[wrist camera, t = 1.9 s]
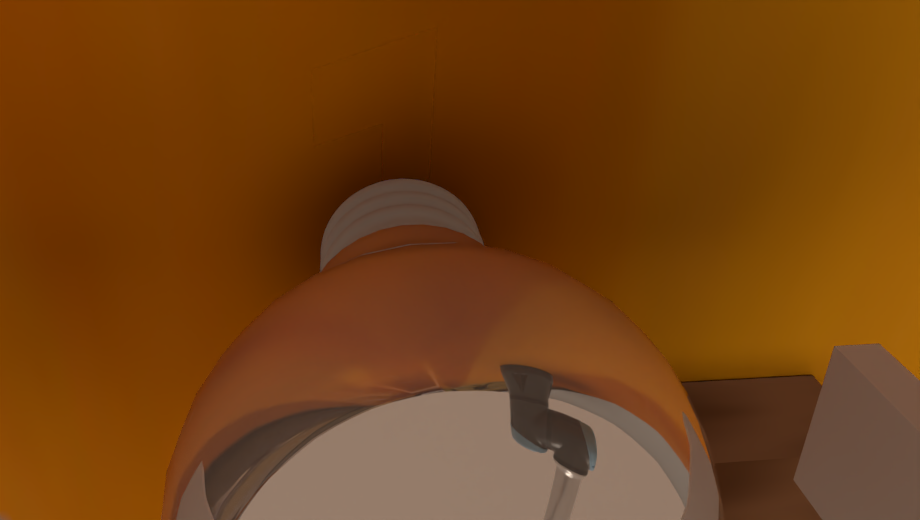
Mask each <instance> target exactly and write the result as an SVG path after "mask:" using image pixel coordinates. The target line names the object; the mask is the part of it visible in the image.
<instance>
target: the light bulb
mask: <svg viewBox="0 0 920 520" xmlns="http://www.w3.org/2000/svg"><path fill="white" fill-rule="evenodd" d="M161 520H725V516H724V510H723V504H722V498H721V493H720V487H719V481H718V475H717V470H716V466H715V463H714V460H713V456H712V453H711V449H710V446H709V442H708V439H707V435H706V433H705V430H704V428H703V426H702V424H701V421H700V419H699V417H698V415H697V413H696V410H695V408H694V406H693V404H692V401H691V399H690V397H689V395H688V393H687V391H686V390H685V388H684V387H683V385H682V383H681V382H680V380H679V379H678V377H677V375H676V374H675V372H674V371H673V369H672V367H671V366H670V364H669V363H668V361H667V359H666V358H665V357H664V356H663V355H662V353H661V352H660V351H659V350H658V349H657V347H656V346H655V345H654V344H653V343H652V341H651V340H650V339H649V338H648V337H647V335H646V334H645V333H644V332H643V331H642V330H641V329H640V328H639V327H638V326H637V325H636V324H635V323H634V322H633V321H632V320H631V319H630V318H629V317H628V316H627V315H626V314H625V313H624V312H622V311H621V310H620V309H619V308H618V307H617V306H616V305H615V304H614V303H613V302H612V301H611V300H609V299H607V298H606V297H604V296H602V295H601V294H599V293H598V292H596V291H594V290H593V289H591V288H590V287H588V286H586V285H585V284H583V283H581V282H580V281H578V280H576V279H575V278H573V277H571V276H569V275H568V274H566V273H564V272H563V271H561V270H559V269H558V268H556V267H554V266H553V265H551V264H548V263H546V262H543V261H540V260H537V259H534V258H531V257H528V256H525V255H522V254H519V253H516V252H513V251H510V250H507V249H500V248H493V247H486V246H484V243H483V240H482V238H481V236H480V234H479V230H478V227H477V224H476V222H475V220H474V218H473V216H472V215H471V213H470V211H469V210H468V209H467V207H466V206H465V205H464V204H463V203H462V202H461V201H460V200H459V199H458V198H457V197H456V196H454V195H453V194H452V193H450V192H449V191H447V190H445V189H443V188H442V187H440V186H437V185H435V184H432V183H429V182H426V181H421V180H415V179H392V180H386V181H382V182H378V183H375V184H372V185H369V186H367V187H365V188H363V189H361V190H359V191H358V192H356V193H355V194H353V195H352V196H350V197H349V198H348V199H347V200H346V201H344V202H343V203H342V204H341V206H340V207H339V208H338V209H337V210H336V211H335V213H334V214H333V215H332V217H331V219H330V220H329V222H328V224H327V227H326V229H325V232H324V235H323V239H322V243H321V263H320V272H319V273H316V274H314V275H313V276H311V277H310V278H308V279H307V280H305V281H303V282H302V283H300V284H299V285H297V286H296V287H294V288H293V289H291V290H289V291H288V292H286V293H285V294H283V295H282V296H280V297H279V298H277V299H275V300H274V301H273V302H272V303H271V304H270V305H269V306H268V307H267V308H266V309H265V310H264V311H263V312H262V313H261V314H260V315H258V316H257V317H256V318H255V319H254V320H253V321H252V322H251V323H250V324H249V325H248V326H247V327H246V328H245V329H244V330H243V331H242V332H241V333H240V334H239V335H238V337H237V338H236V339H235V340H234V341H233V342H232V344H231V345H230V346H229V347H228V348H227V349H226V351H225V352H224V353H223V354H222V356H221V357H220V359H219V360H218V362H217V363H216V365H215V366H214V368H213V369H212V371H211V372H210V374H209V375H208V377H207V378H206V380H205V381H204V383H203V384H202V386H201V387H200V389H199V390H198V392H197V393H196V396H195V398H194V400H193V403H192V405H191V408H190V410H189V413H188V415H187V418H186V420H185V423H184V425H183V427H182V430H181V433H180V436H179V438H178V441H177V444H176V447H175V449H174V452H173V455H172V458H171V460H170V463H169V466H168V469H167V472H166V481H165V490H164V499H163V508H162V517H161Z"/></svg>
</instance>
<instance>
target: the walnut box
mask: <svg viewBox="0 0 920 520" xmlns="http://www.w3.org/2000/svg"><path fill="white" fill-rule="evenodd" d="M682 385H683V387H684V388H685V390H686V391H687V393H688V395H689V397H690V399H691V401H692V404H693V406H694V408H695V410H696V413H697V415H698V417H699V419H700V421H701V424H702V426H703V428H704V430H705V433H706V435H707V439H708V442H709V446H710V449H711V453H712V456H713V460H714V463H715V466H716V470H717V475H718V481H719V487H720V493H721V498H722V504H723V510H724V516H725V520H822V519H821V517H820V516H819V515H818V513H817V512H816V510H815V509H814V508H813V506H812V505H811V504H810V502H809V501H808V499H807V498H806V497H805V495H804V494H803V492H802V491H801V490H800V488H799V487H798V486H797V484H796V483H795V481H794V480H793V479H794V476H795V473H796V469H797V466H798V463H799V460H800V456H801V453H802V450H803V447H804V443H805V440H806V437H807V434H808V430H809V427H810V424H811V421H812V417H813V414H814V411H815V408H816V404H817V401H818V398H819V395H820V391H821V388H822V386H821V384H820V383H819V382H818V381H817V380H816V379H815V378H814V376H813V375H809V376H792V377H774V378H756V379H738V380H721V381H703V382H685V383H682Z"/></svg>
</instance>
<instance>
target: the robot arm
mask: <svg viewBox="0 0 920 520" xmlns="http://www.w3.org/2000/svg"><path fill="white" fill-rule="evenodd" d="M793 480H794V481H795V483H796V484H797V486H798V487H799V488H800V490H801V491H802V492H803V494H804V495H805V497H806V498H807V499H808V501H809V502H810V504H811V505H812V506H813V508H814V509H815V510H816V512H817V513H818V515H819V516H820V517H821V519H822V520H920V381H919V380H918V379H917V378H916V377H915V376H914V375H913V374H912V373H911V372H909V371H908V370H907V369H906V368H905V367H904V366H903V365H902V364H901V363H900V362H899V361H898V360H896V359H895V358H894V357H893V356H892V355H891V354H890V353H889V352H888V351H887V350H886V349H884V348H883V347H882V346H881V345H880V344H864V345H847V346H834V349H833V353H832V356H831V359H830V362H829V365H828V369H827V372H826V375H825V378H824V382H823V385H822V388H821V391H820V395H819V398H818V401H817V404H816V408H815V411H814V414H813V417H812V421H811V424H810V427H809V430H808V434H807V437H806V440H805V443H804V447H803V450H802V453H801V456H800V460H799V463H798V466H797V469H796V473H795V476H794V479H793Z"/></svg>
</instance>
